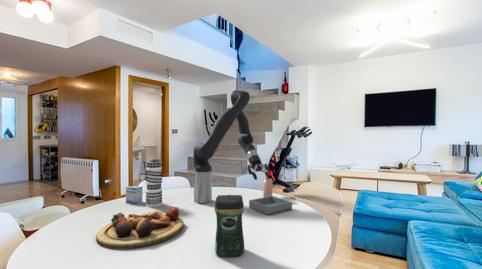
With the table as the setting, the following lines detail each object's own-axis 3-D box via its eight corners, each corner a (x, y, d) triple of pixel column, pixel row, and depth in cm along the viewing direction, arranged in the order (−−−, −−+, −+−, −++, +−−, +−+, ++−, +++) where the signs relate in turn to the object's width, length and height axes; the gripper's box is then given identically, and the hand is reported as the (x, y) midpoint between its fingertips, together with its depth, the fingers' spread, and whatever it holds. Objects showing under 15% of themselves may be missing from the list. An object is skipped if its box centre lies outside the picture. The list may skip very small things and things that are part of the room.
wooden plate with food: (178, 214, 118) (178, 197, 118) (189, 240, 88) (188, 217, 88) (103, 224, 107) (103, 205, 107) (86, 258, 77) (86, 232, 77)
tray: (268, 215, 115) (268, 207, 115) (249, 207, 128) (249, 200, 128) (291, 209, 124) (291, 201, 124) (272, 202, 137) (272, 195, 137)
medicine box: (125, 202, 137) (125, 187, 137) (131, 200, 142) (131, 185, 142) (137, 203, 135) (137, 188, 135) (142, 201, 139) (142, 186, 139)
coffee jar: (243, 246, 84) (243, 192, 84) (244, 258, 76) (244, 198, 76) (215, 246, 84) (215, 192, 84) (213, 258, 76) (213, 198, 76)
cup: (267, 201, 141) (267, 180, 141) (261, 199, 145) (261, 178, 145) (274, 199, 144) (274, 179, 144) (268, 197, 148) (268, 177, 148)
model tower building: (144, 203, 136) (144, 158, 136) (161, 201, 140) (161, 157, 140) (145, 207, 128) (145, 159, 128) (163, 205, 132) (163, 159, 132)
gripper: (245, 155, 155) (254, 175, 145) (265, 154, 161) (274, 174, 151) (242, 162, 160) (250, 183, 149) (261, 161, 166) (270, 181, 155)
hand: (262, 178), depth 150 cm, fingers open, 8 cm apart
